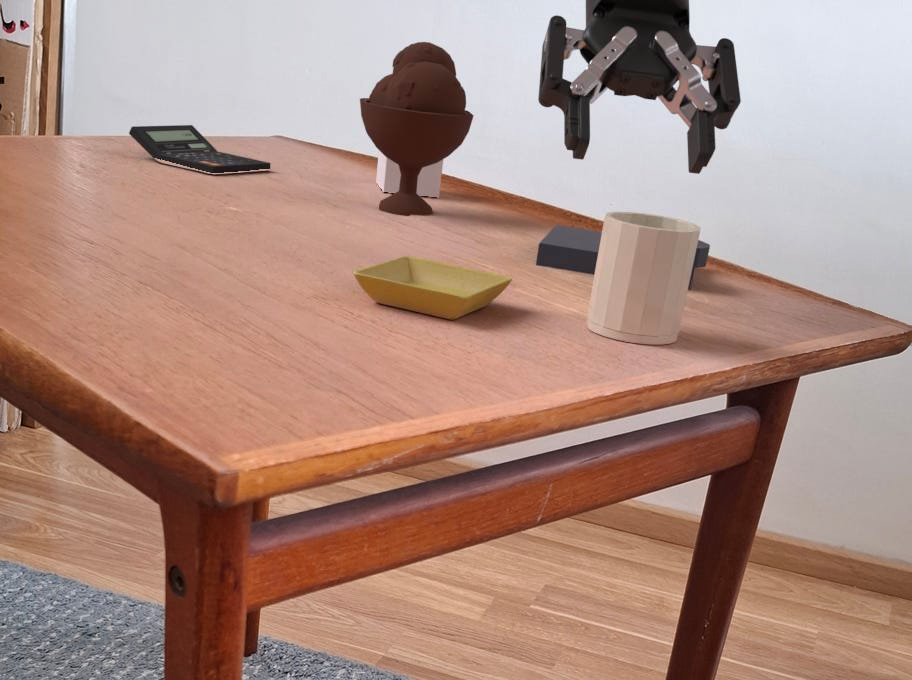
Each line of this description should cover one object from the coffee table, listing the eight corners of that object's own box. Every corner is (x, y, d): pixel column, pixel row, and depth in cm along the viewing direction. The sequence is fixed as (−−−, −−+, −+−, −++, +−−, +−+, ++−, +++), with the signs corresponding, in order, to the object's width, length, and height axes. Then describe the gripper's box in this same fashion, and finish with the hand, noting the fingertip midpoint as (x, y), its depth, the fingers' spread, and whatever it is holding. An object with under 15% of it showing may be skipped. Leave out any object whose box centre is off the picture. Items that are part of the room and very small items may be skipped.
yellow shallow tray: (462, 328, 82) (466, 296, 81) (347, 301, 85) (350, 270, 84) (510, 307, 89) (515, 278, 88) (403, 283, 92) (406, 254, 91)
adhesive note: (439, 198, 131) (446, 138, 129) (383, 193, 130) (389, 132, 127) (429, 189, 137) (435, 130, 134) (375, 183, 135) (381, 124, 132)
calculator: (212, 175, 127) (213, 144, 125) (128, 156, 132) (128, 125, 130) (270, 171, 134) (271, 141, 133) (188, 153, 139) (189, 124, 137)
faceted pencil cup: (678, 330, 89) (701, 222, 85) (675, 350, 83) (699, 235, 80) (590, 315, 90) (609, 207, 86) (581, 334, 84) (601, 220, 81)
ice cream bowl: (334, 197, 123) (347, 31, 117) (436, 203, 128) (454, 43, 121) (371, 218, 115) (387, 40, 108) (479, 224, 119) (501, 53, 113)
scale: (703, 270, 112) (711, 230, 110) (699, 295, 101) (709, 251, 100) (552, 245, 114) (558, 206, 112) (533, 267, 103) (540, 224, 102)
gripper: (554, -80, 88) (554, 110, 83) (747, -52, 89) (757, 135, 85) (531, 2, 95) (530, 181, 90) (710, 26, 96) (718, 203, 92)
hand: (640, 159), depth 87 cm, fingers open, 8 cm apart
